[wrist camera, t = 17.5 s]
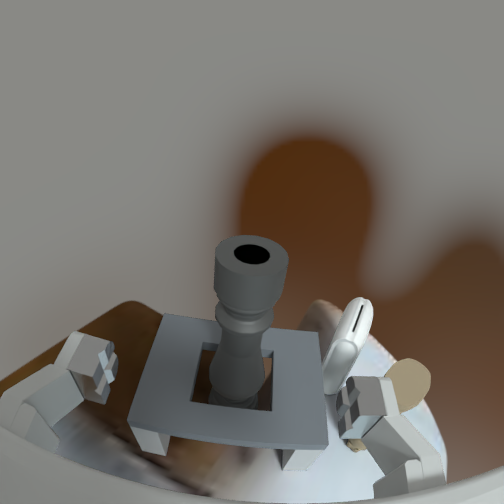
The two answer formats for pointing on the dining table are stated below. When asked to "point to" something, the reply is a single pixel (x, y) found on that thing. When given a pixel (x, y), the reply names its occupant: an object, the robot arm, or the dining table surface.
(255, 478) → the dining table surface
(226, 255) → the candle holder
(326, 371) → the photo printer
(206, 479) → the dining table surface
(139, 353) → the dining table surface
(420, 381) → the handle
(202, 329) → the hole stand
